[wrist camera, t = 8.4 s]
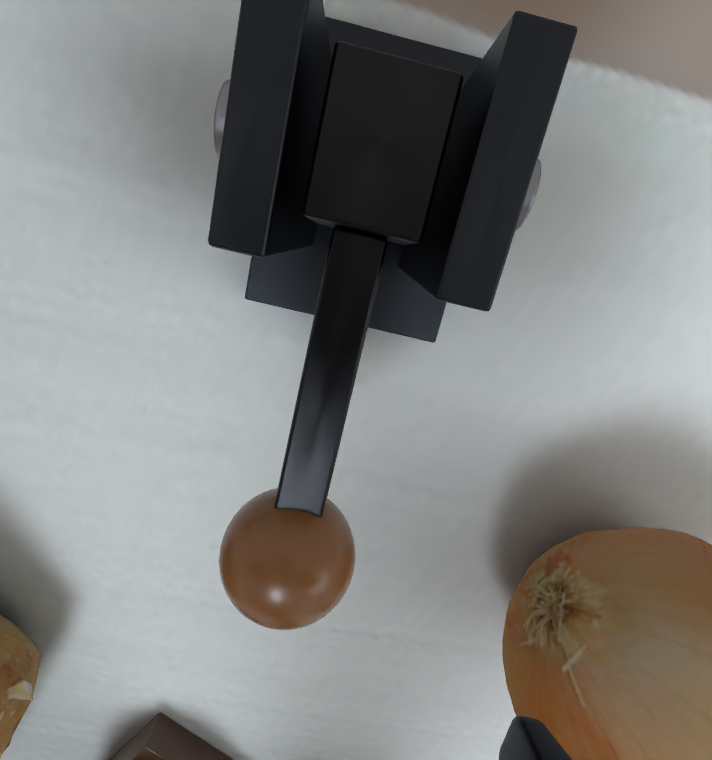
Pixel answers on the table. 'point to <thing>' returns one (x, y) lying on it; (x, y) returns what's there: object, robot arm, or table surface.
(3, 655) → the bread
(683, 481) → the table surface
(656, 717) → the onion
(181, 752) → the button block
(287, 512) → the lever
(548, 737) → the robot arm
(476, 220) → the bracket
